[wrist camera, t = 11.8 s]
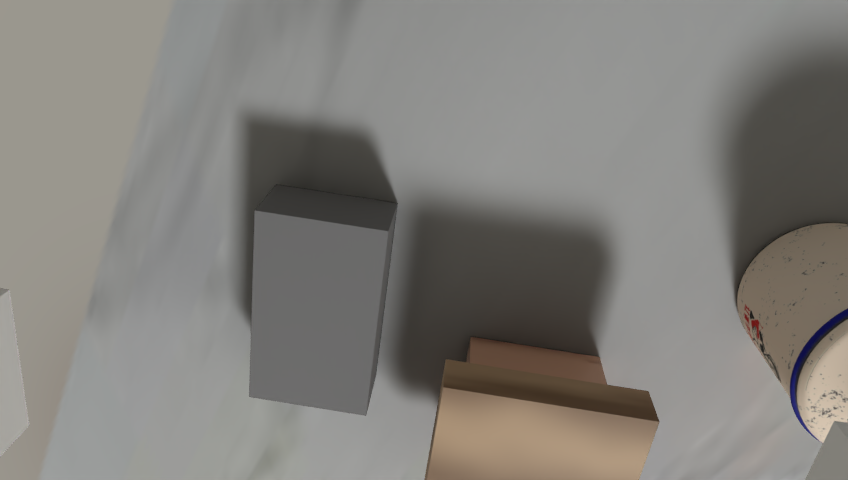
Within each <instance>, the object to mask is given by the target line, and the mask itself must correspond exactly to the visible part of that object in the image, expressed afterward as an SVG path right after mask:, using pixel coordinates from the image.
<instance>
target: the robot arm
mask: <svg viewBox="0 0 848 480" xmlns="http://www.w3.org/2000/svg"><path fill="white" fill-rule="evenodd" d="M28 426H29V420H28V413H27V406H26V399H25V393H24V386H23V379H22V372H21V365H20V358H19V352H18V344H17V337H16V331H15V324H14V317H13V310H12V304H11V296H10V290H9V289H2V288H0V456H1V455H2V454H3V453H4V452H5V451H6V450H7V449H8V448H9V447H10V445H11V444H12V443H13V442H14V441H15V440H16V439H17V438H18V437H19V436H20V435H21V434H22V433H23V432H24V430H25V429H26V428H27V427H28ZM805 480H848V423H845V422H839V421H834V422H833V424H832V426H831V428H830V430H829V432H828V434H827V436H826V438H825V440H824V442H823V444H822V447H821V449H820V451H819V453H818V455H817V457H816V459H815V461H814V463H813V465H812V467H811V469H810V471H809V473H808V475H807V477H806V479H805Z"/></svg>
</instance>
